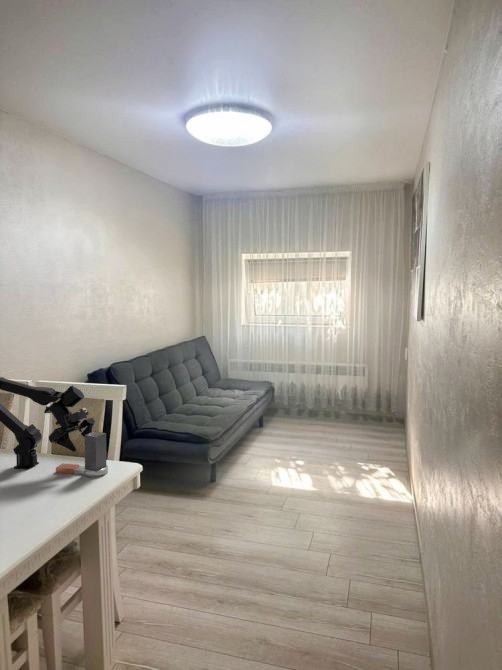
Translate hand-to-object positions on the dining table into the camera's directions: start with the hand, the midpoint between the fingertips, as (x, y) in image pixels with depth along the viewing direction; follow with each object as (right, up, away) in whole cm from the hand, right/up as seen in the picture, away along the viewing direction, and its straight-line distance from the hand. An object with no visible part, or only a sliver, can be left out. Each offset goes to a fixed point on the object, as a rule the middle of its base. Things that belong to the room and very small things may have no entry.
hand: (84, 447), depth 165 cm
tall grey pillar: (+5, -7, -1) cm, 9 cm away
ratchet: (-1, -9, 0) cm, 9 cm away
